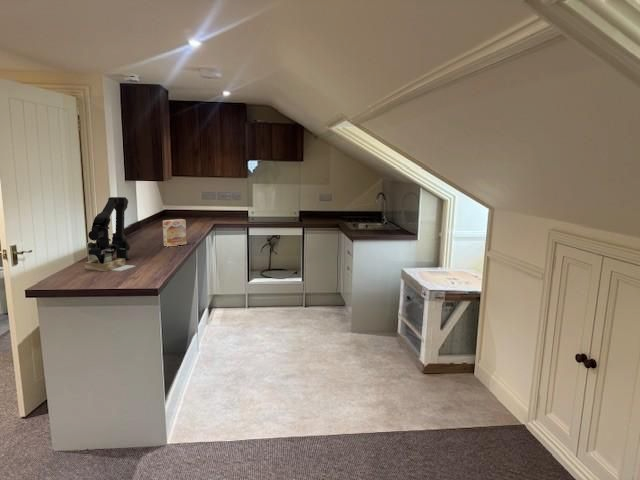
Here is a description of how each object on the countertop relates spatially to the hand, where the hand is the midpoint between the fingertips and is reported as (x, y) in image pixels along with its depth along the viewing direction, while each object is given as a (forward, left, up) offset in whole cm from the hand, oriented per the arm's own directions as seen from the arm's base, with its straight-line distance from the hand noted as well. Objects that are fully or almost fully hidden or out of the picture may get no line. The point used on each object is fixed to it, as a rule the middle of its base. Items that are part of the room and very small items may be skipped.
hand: (105, 263), depth 252 cm
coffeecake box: (-70, 0, -2) cm, 70 cm away
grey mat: (0, +12, -2) cm, 13 cm away
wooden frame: (0, 0, -2) cm, 2 cm away
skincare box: (-10, -17, -2) cm, 20 cm away
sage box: (0, 0, -2) cm, 2 cm away
